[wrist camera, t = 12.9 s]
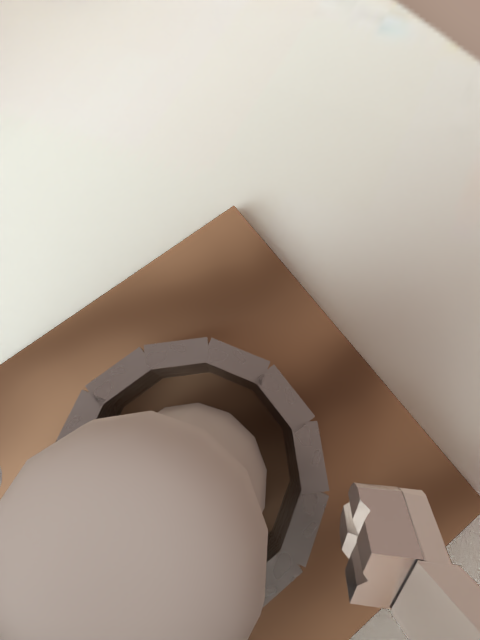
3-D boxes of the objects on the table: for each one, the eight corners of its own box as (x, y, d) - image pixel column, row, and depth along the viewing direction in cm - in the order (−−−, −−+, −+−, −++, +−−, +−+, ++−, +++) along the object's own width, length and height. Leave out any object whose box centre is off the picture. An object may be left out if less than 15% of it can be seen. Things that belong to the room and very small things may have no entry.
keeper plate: (474, 501, 19) (487, 505, 18) (146, 814, 16) (140, 839, 15) (234, 215, 22) (233, 205, 21) (-77, 427, 19) (-93, 428, 18)
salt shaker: (256, 555, 17) (324, 903, 5) (118, 543, 17) (-191, 857, 5) (266, 411, 19) (336, 374, 6) (139, 400, 19) (-53, 341, 6)
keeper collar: (357, 488, 18) (381, 500, 15) (167, 655, 16) (153, 705, 13) (218, 311, 20) (216, 291, 17) (35, 445, 18) (-3, 448, 15)
